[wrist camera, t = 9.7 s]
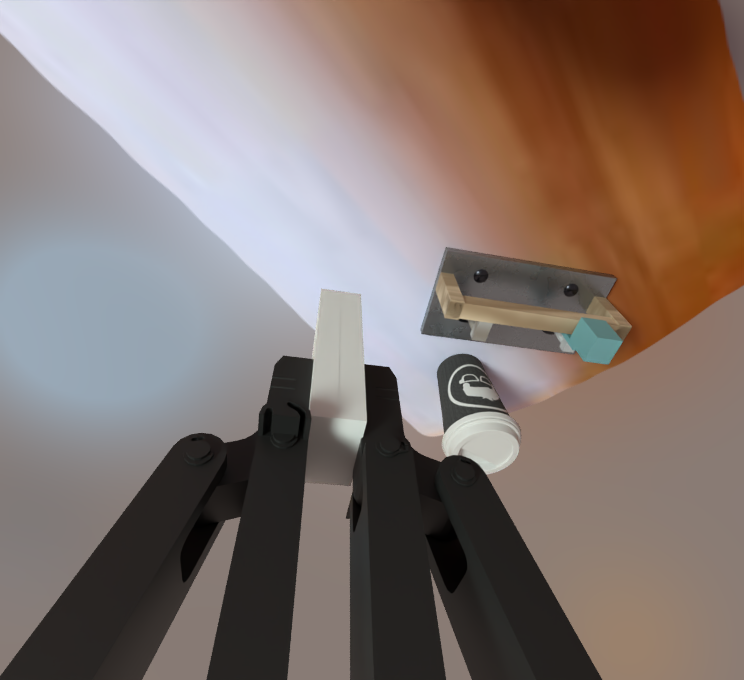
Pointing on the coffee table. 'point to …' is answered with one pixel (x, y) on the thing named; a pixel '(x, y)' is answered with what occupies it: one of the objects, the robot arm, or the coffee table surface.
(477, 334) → the wooden rail
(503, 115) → the coffee table surface
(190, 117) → the coffee table surface
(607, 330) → the slider block
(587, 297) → the bolt plate
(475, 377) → the coffee cup
